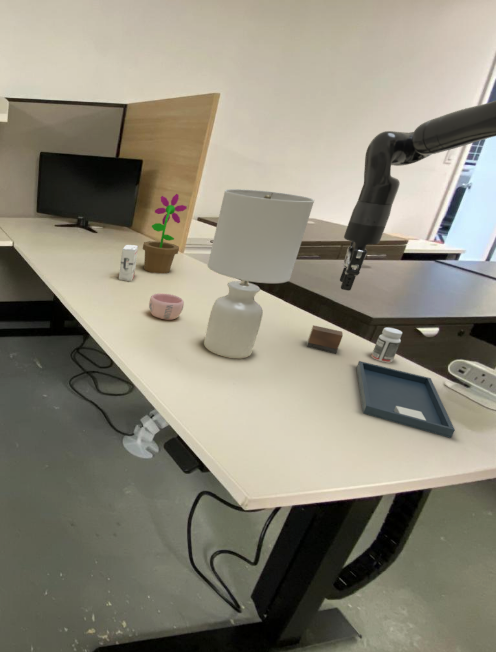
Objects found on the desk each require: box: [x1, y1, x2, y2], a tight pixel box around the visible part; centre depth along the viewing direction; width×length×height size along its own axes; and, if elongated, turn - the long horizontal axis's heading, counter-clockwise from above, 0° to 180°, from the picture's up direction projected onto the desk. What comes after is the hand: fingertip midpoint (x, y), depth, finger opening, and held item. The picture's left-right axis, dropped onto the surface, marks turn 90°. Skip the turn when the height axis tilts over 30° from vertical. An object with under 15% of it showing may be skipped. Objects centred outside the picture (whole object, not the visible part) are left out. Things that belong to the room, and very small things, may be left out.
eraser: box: [306, 325, 344, 355], centre depth 126 cm, size 7×4×6 cm, turn 60°
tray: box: [355, 360, 456, 439], centre depth 104 cm, size 26×15×2 cm, turn 150°
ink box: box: [118, 244, 139, 283], centre depth 175 cm, size 9×5×12 cm, turn 160°
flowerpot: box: [142, 193, 188, 274], centre depth 185 cm, size 14×14×30 cm
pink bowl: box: [148, 292, 185, 320], centre depth 141 cm, size 12×10×6 cm
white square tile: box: [394, 406, 426, 420], centre depth 95 cm, size 4×4×1 cm
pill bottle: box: [371, 327, 403, 364], centre depth 122 cm, size 5×5×8 cm
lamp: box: [203, 188, 315, 359], centre depth 114 cm, size 19×19×39 cm
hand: (344, 285), depth 120 cm, fingers open, 8 cm apart
